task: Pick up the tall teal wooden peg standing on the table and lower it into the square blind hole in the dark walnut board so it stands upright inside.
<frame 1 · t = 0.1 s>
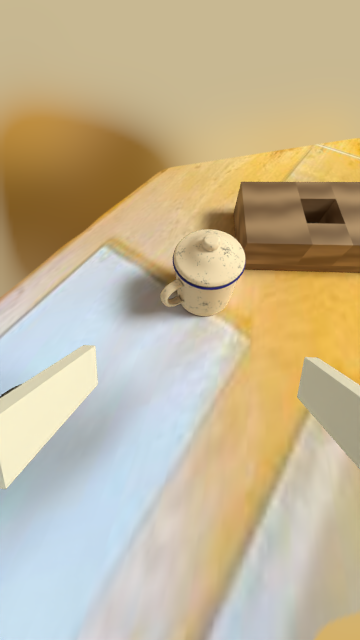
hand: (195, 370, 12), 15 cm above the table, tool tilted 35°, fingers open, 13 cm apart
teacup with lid: (196, 298, 32), on the table
hole board: (301, 240, 36), on the table
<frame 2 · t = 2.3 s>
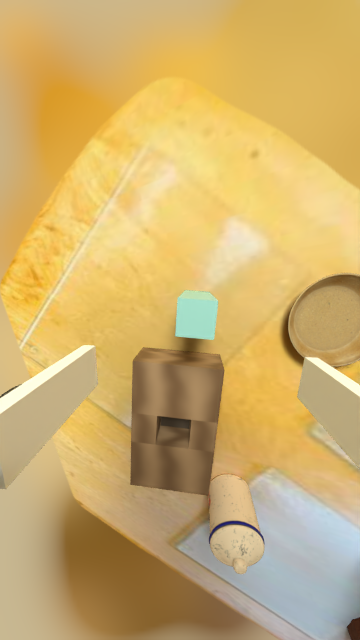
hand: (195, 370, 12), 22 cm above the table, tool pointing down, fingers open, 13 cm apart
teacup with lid: (231, 493, 41), on the table
plant saucer: (326, 318, 32), on the table
hole board: (176, 408, 38), on the table
peg: (196, 302, 33), on the table
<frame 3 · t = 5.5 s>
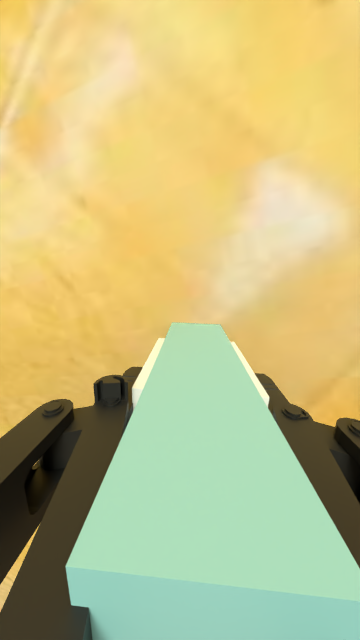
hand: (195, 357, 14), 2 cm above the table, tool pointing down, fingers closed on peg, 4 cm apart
peg: (194, 346, 17), on the table, touching gripper
when the fingers open (7 cm above the table, at t = 11.0 s): peg drops 3 cm, resting on hole board.
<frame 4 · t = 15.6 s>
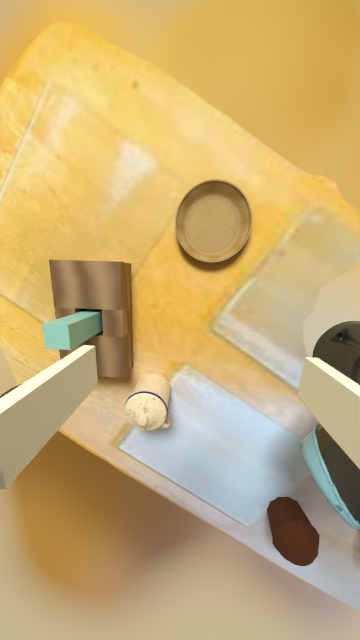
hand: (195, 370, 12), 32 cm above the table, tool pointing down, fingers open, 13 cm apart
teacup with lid: (157, 392, 49), on the table
plant saucer: (211, 226, 40), on the table
hole board: (102, 316, 45), on the table
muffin: (283, 507, 55), on the table
peg: (99, 317, 43), point 2 cm above the table, touching hole board
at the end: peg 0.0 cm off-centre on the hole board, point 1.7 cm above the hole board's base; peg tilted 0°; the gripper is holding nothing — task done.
